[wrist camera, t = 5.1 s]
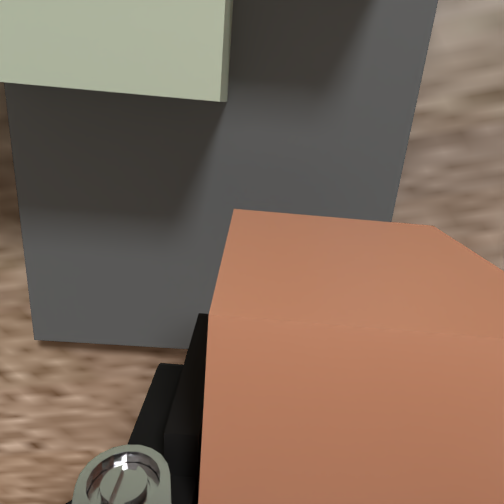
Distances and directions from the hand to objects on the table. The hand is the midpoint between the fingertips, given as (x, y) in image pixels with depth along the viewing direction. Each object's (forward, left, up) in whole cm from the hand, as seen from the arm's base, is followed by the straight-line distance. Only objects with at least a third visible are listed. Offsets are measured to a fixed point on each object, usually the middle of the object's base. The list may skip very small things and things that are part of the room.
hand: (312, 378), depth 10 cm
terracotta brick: (0, 0, 0) cm, 0 cm away
